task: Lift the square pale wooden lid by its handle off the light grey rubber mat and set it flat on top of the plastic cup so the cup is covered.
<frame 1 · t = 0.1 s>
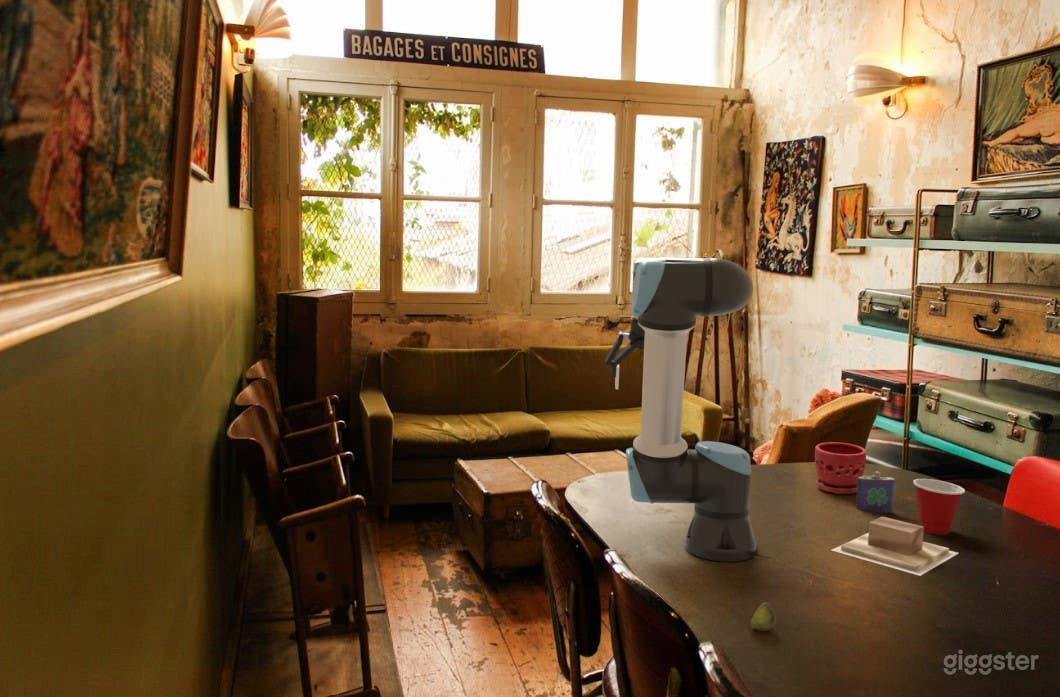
hand: (641, 387, 228), 28 cm above the table, tool tilted 20°, fingers open, 13 cm apart
mat: (894, 556, 179), on the table
plastic cup: (935, 535, 193), on the table
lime: (762, 631, 144), on the table
lid: (894, 551, 179), point 1 cm above the table, touching mat
flask: (874, 513, 209), on the table
plant pot: (838, 490, 229), on the table
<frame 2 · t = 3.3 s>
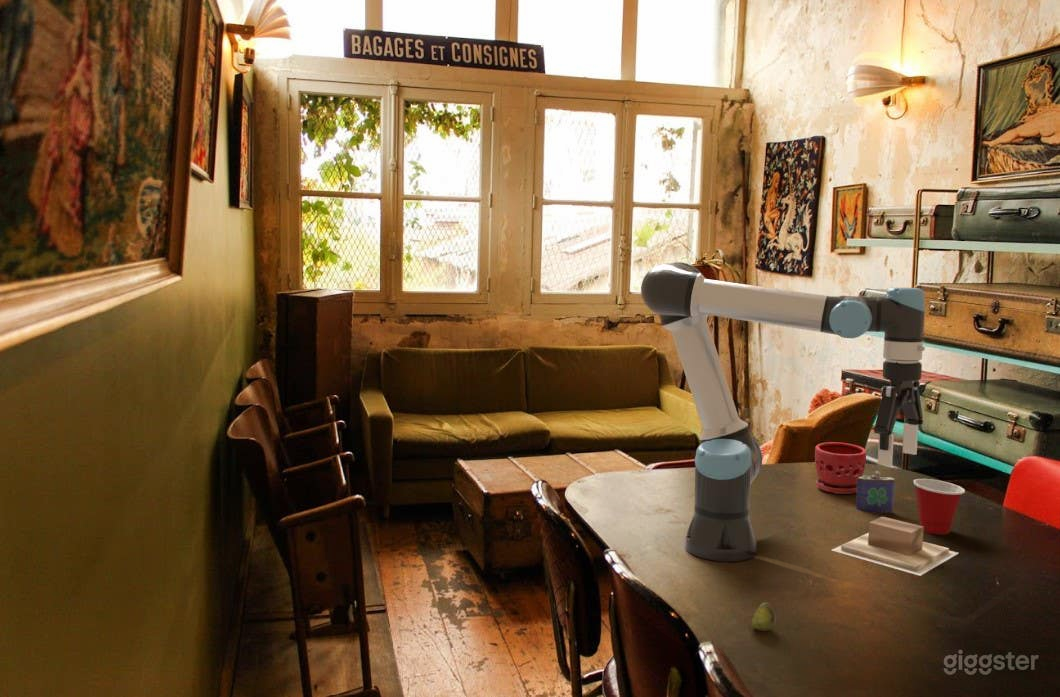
hand: (897, 459, 179), 21 cm above the table, tool pointing down, fingers open, 13 cm apart
nothing on the table moved.
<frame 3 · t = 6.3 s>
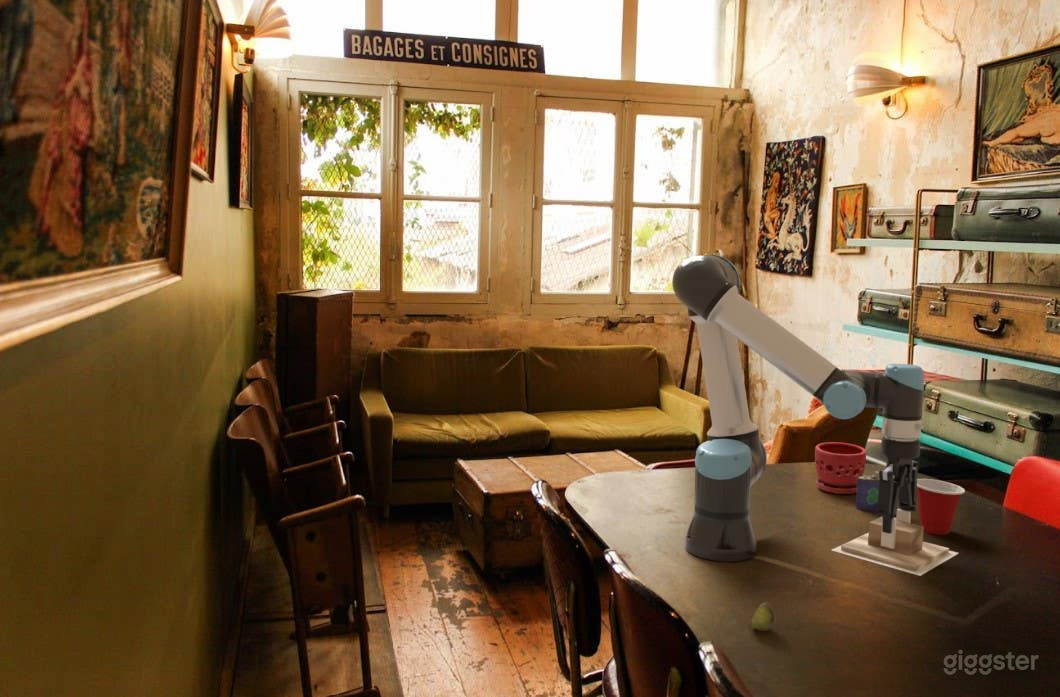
hand: (895, 543, 179), 3 cm above the table, tool pointing down, fingers closed on lid, 6 cm apart
lid: (894, 551, 179), point 1 cm above the table, touching gripper, mat
everything else where it was.
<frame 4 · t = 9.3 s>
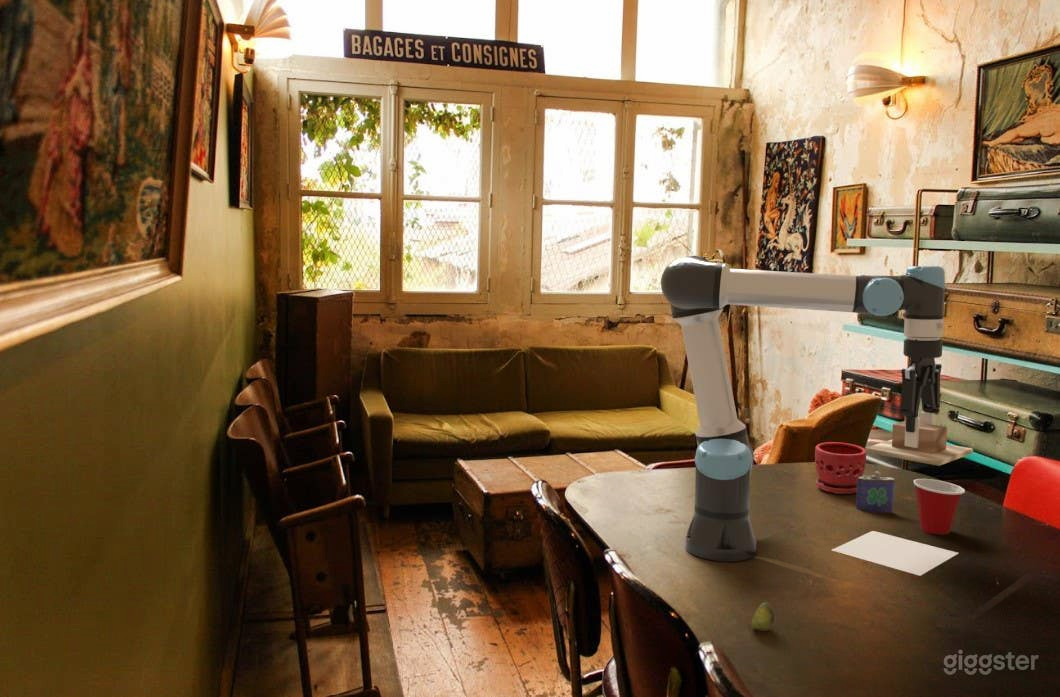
hand: (918, 444, 181), 23 cm above the table, tool pointing down, fingers closed on lid, 6 cm apart
lid: (918, 452, 181), point 22 cm above the table, touching gripper
everything else where it was.
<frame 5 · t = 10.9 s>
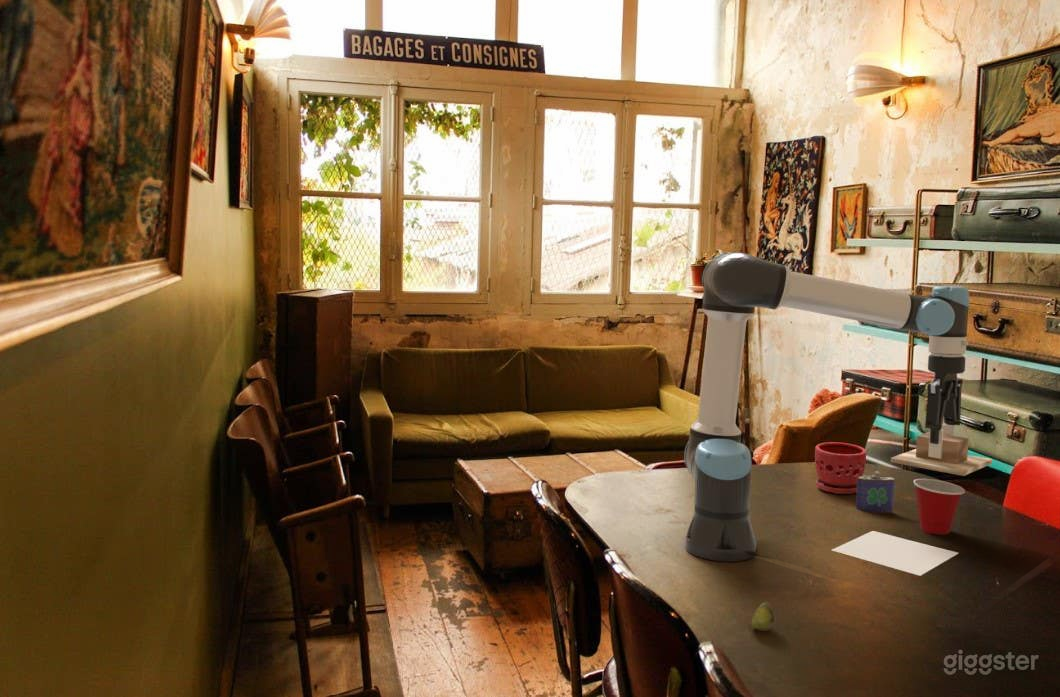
hand: (941, 454, 191), 19 cm above the table, tool pointing down, fingers closed on lid, 6 cm apart
lid: (941, 462, 191), point 17 cm above the table, touching gripper
everything else where it was.
when the fingers open (15 cm above the table, at t = 12.2 s): lid drops 1 cm, resting on plastic cup.
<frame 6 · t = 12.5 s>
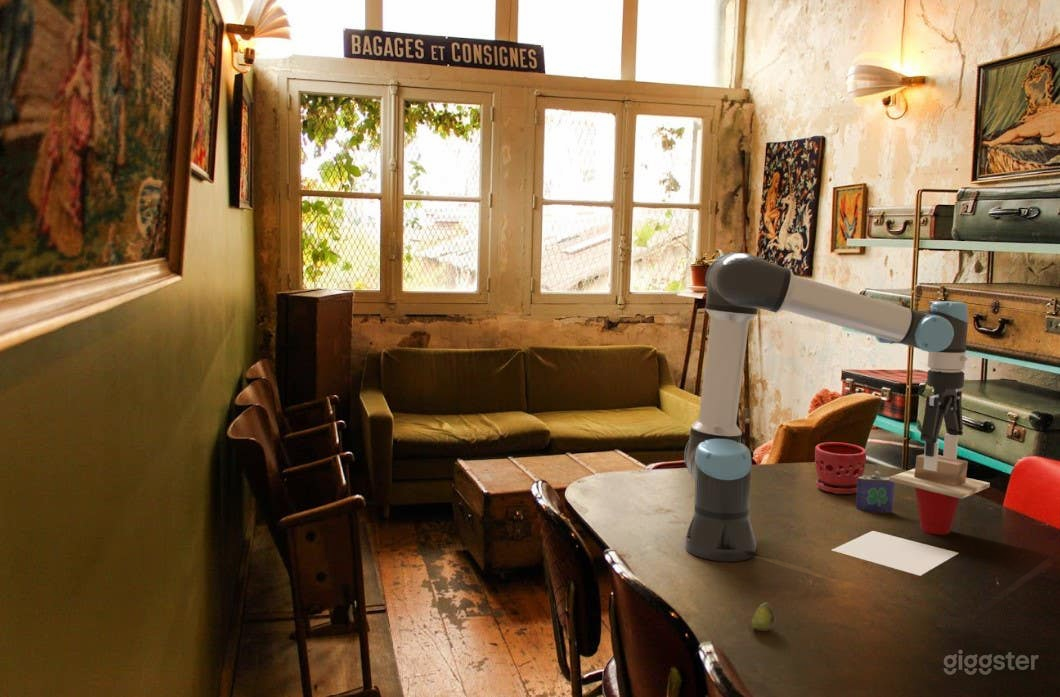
hand: (940, 466, 191), 16 cm above the table, tool pointing down, fingers open, 10 cm apart
plastic cup: (935, 535, 193), on the table, touching lid
lid: (939, 484, 191), point 12 cm above the table, touching plastic cup
everything else where it was.
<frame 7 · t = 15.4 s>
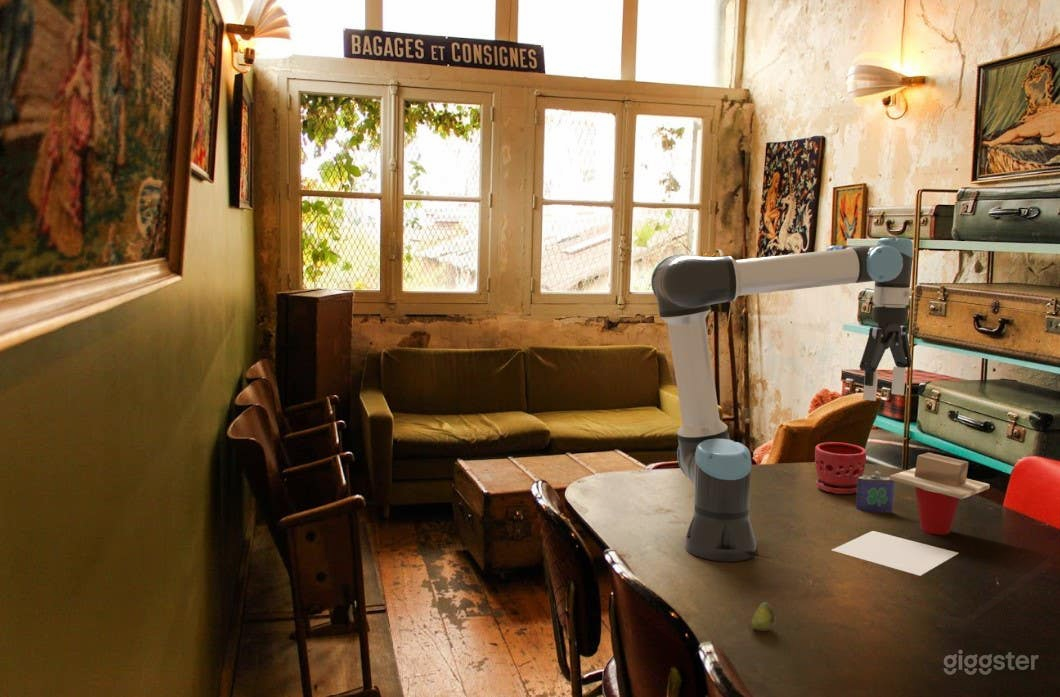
hand: (883, 397, 194), 31 cm above the table, tool pointing down, fingers open, 13 cm apart
nothing on the table moved.
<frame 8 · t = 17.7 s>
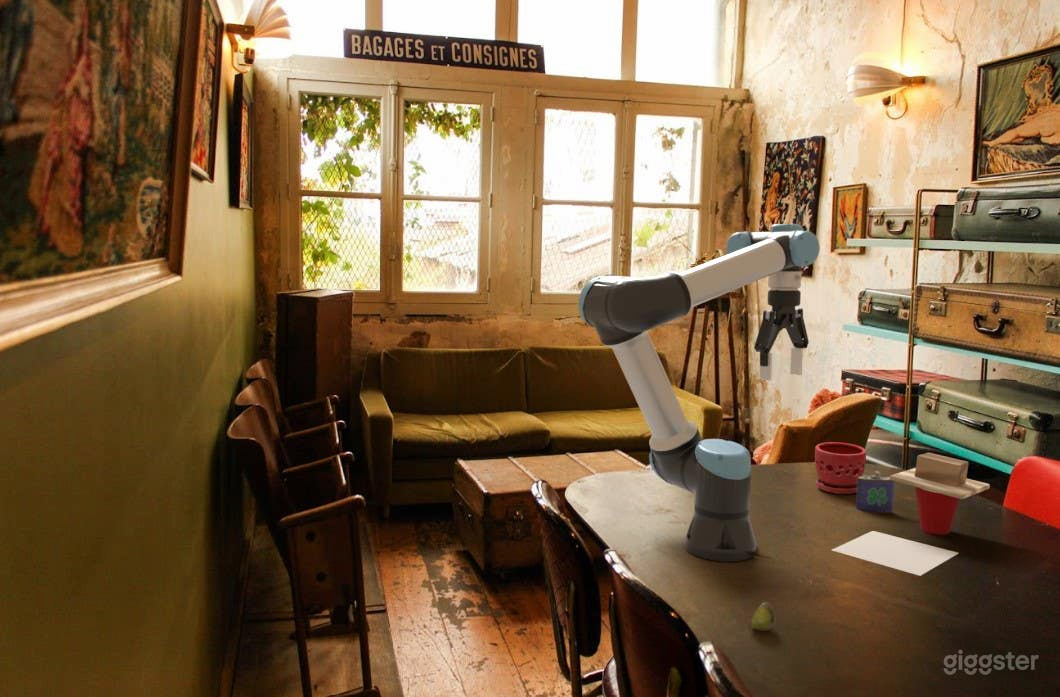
hand: (781, 377, 202), 35 cm above the table, tool pointing down, fingers open, 13 cm apart
nothing on the table moved.
at the end: lid 0.1 cm off-centre on the plastic cup, point 12.2 cm above the plastic cup's base; plastic cup tilted 0°; the gripper is holding nothing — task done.
